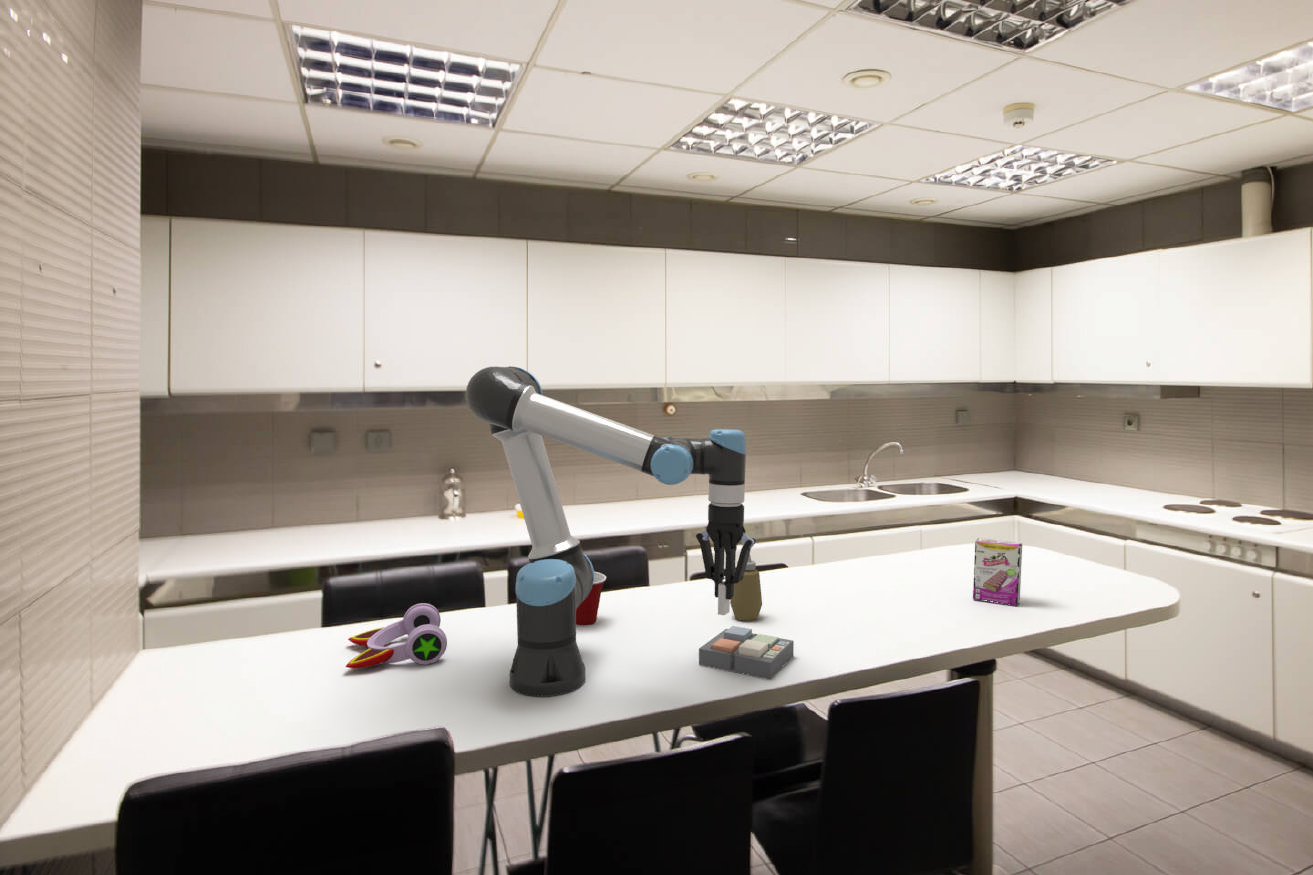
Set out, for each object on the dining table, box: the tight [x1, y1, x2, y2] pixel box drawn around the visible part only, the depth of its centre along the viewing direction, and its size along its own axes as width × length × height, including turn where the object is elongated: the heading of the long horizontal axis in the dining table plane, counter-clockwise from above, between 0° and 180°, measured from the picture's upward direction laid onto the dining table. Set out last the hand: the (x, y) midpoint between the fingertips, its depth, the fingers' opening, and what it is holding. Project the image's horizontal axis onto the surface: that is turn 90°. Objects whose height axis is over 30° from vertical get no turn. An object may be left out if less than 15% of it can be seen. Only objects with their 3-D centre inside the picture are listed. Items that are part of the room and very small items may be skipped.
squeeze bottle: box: [730, 553, 763, 622], centre depth 184 cm, size 8×8×18 cm
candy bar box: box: [972, 537, 1023, 607], centre depth 196 cm, size 11×5×16 cm, turn 58°
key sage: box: [752, 633, 779, 648], centre depth 158 cm, size 5×5×3 cm
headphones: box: [345, 602, 448, 669], centre depth 163 cm, size 20×10×20 cm
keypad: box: [698, 628, 795, 680], centre depth 157 cm, size 14×16×4 cm
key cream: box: [739, 639, 768, 658], centre depth 153 cm, size 5×5×3 cm
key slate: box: [724, 625, 753, 643], centre depth 161 cm, size 5×5×3 cm
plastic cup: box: [576, 571, 607, 627], centre depth 182 cm, size 11×11×12 cm
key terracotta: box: [712, 638, 740, 653], centre depth 156 cm, size 5×5×3 cm
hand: (723, 612), depth 155 cm, fingers closed
